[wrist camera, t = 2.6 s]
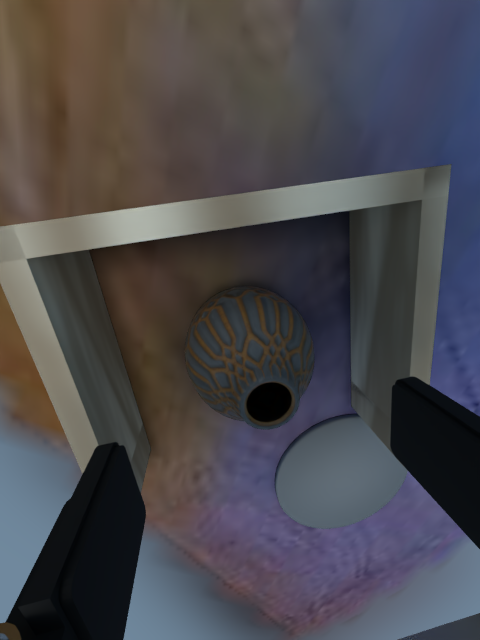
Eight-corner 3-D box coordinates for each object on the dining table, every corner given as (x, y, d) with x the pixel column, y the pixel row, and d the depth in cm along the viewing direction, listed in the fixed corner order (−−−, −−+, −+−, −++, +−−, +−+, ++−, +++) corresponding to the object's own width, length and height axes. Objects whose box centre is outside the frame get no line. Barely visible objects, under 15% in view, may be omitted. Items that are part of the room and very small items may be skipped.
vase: (199, 266, 17) (198, 299, 9) (300, 290, 18) (382, 338, 10) (179, 364, 19) (162, 468, 11) (272, 379, 20) (322, 481, 12)
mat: (408, 400, 23) (413, 405, 22) (401, 504, 26) (405, 510, 26) (267, 431, 22) (269, 436, 21) (281, 534, 25) (283, 541, 25)
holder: (367, 186, 17) (451, 164, 11) (365, 403, 22) (422, 462, 16) (59, 230, 15) (-23, 230, 10) (134, 452, 21) (109, 536, 15)
